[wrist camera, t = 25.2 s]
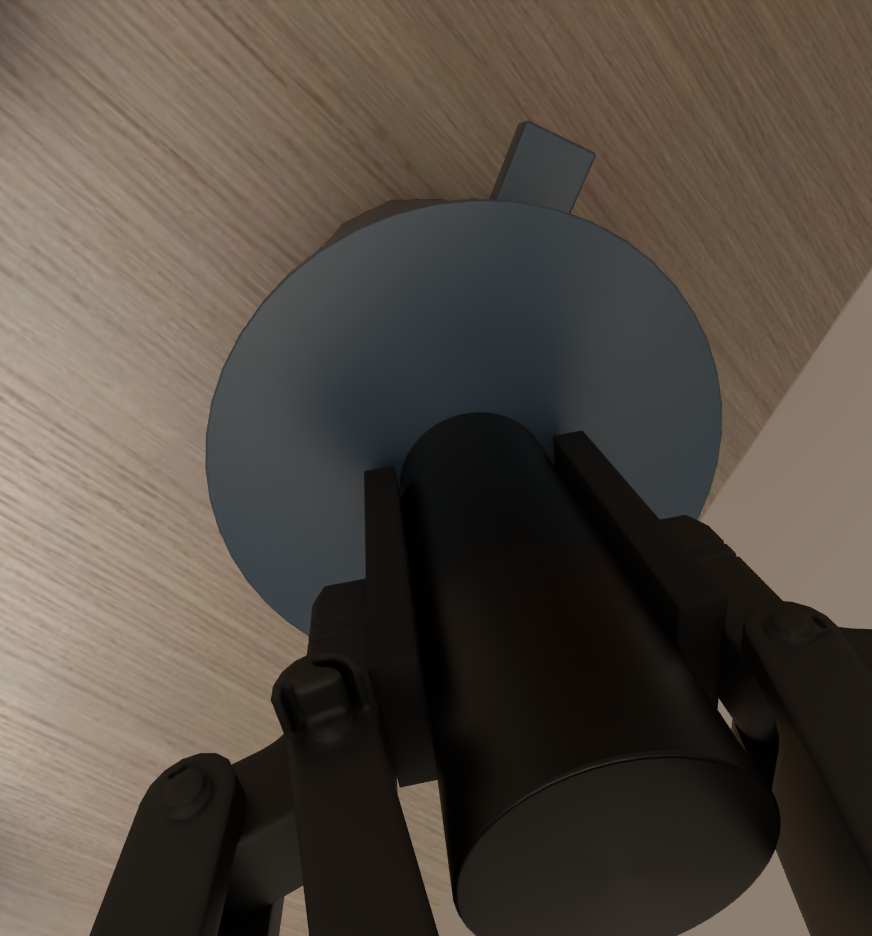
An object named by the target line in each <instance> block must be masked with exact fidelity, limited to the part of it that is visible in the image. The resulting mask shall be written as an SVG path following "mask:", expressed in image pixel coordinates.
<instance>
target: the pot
mask: <svg viewBox="0 0 872 936" xmlns="http://www.w3.org/2000/svg"><path fill="white" fill-rule="evenodd" d="M595 155H596V154H595V153H594V152H592V151H590V150H588V149H586V148H584V147H582V146H580V145H578V144H576V143H573V142H571V141H569V140H567V139H565V138H563V137H561V136H559V135H557V134H555V133H553V132H551V131H549V130H547V129H545V128H543V127H540V126H538V125H536V124H534V123H532V122H530V121H525V122H521V123H519V125H518V127H517V129H516V132H515V134H514V137H513V140H512V142H511V145H510V147H509V150H508V152H507V155H506V158H505V160H504V163H503V165H502V168H501V171H500V173H499V176H498V178H497V181H496V183H495V186H494V189H493V191H492V194H491V196H490V199H495V200H513V201H519V202H524V203H529V204H534V205H539V206H544V207H549V208H554V209H558V210H561V211H563V212H566V213H569V214H570V213H571V211H572V209H573V206H574V204H575V202H576V200H577V197H578V195H579V193H580V190H581V188H582V186H583V184H584V181H585V179H586V177H587V175H588V172H589V170H590V168H591V166H592V163H593V161H594V159H595ZM442 201H447V200H443V199H424V200H421V199H414V200H391V201H388V202H386V203H384V204H382V205H380V206H378V207H376V208H374V209H371V210H369V211H366V212H365V213H363V214H361V215H359V216H357V217H355V218H353V219H351V220H349V221H347V222H345V223H344V224H342V225H341V226H340V228H339V229H338V230H337V231H336V232H335V234H334V235H333V236H332V237H331V238H330V240H329V241H328V242H327V243H326V244H325V245H327V244H328V243H330V242H332V241H333V240H335V239H337V238H339V237H340V236H342V235H344V234H346V233H347V232H349V231H351V230H352V229H354V228H356V227H358V226H361V225H363V224H366V223H368V222H371V221H373V220H375V219H378V218H380V217H383V216H385V215H388V214H390V213H393V212H396V211H400V210H404V209H408V208H412V207H416V206H420V205H425V204H429V203H433V202H442Z"/></svg>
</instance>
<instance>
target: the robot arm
mask: <svg viewBox="0 0 872 936" xmlns="http://www.w3.org/2000/svg"><path fill="white" fill-rule="evenodd" d="M553 446H554V461H555V467H556V469H557V470H558V472H559V473H560V475H561V476H562V478H563V479H564V481H565V482H566V484H567V485H568V487H569V488H570V490H571V491H572V493H573V494H574V496H575V497H576V499H577V500H578V502H579V503H580V505H581V506H582V508H583V509H584V511H585V512H586V514H587V515H588V517H589V518H590V520H591V521H592V523H593V524H594V526H595V527H596V529H597V530H598V532H599V533H600V535H601V536H602V538H603V539H604V541H605V542H606V544H607V545H608V547H609V548H610V550H611V551H612V553H613V554H614V556H615V557H616V559H617V560H618V562H619V563H620V565H621V566H622V568H623V569H624V570H625V572H626V573H627V575H628V576H629V578H630V579H631V581H632V582H633V584H634V585H635V587H636V588H637V590H638V591H639V593H640V594H641V596H642V597H643V599H644V600H645V602H646V603H647V605H648V606H649V608H650V609H651V611H652V612H653V614H654V615H655V617H656V618H657V620H658V621H659V623H660V624H661V626H662V627H663V629H664V630H665V632H666V633H667V635H668V636H669V638H670V639H671V641H672V642H673V644H674V645H675V647H676V648H677V650H678V651H679V653H680V654H681V656H682V657H683V659H684V660H685V662H686V663H687V665H688V666H689V668H690V669H691V671H692V672H693V674H694V675H695V677H696V678H697V680H698V681H699V683H700V684H701V686H702V687H703V689H704V690H705V692H706V693H707V695H708V696H709V698H710V699H711V701H712V702H713V704H714V705H715V707H716V708H717V709H718V698H719V699H720V701H721V702H722V703H723V705H724V706H725V708H726V709H727V711H728V712H729V714H730V715H731V717H732V718H733V720H732V729H731V731H732V732H733V734H734V735H735V737H736V738H737V740H738V741H739V743H740V744H741V746H742V747H743V749H744V750H745V751H746V753H747V754H748V756H749V757H750V759H751V760H752V762H753V763H754V765H755V766H756V768H757V769H758V771H759V772H760V774H761V775H762V777H763V778H764V780H765V781H766V783H767V784H768V786H769V787H770V789H771V790H772V792H773V793H774V796H775V798H776V801H777V803H778V806H779V812H780V819H781V827H780V836H779V839H778V843H777V846H776V852H777V854H778V856H779V859H780V861H781V864H782V866H783V869H784V871H785V874H786V876H787V879H788V881H789V883H790V886H791V888H792V891H793V894H794V896H795V899H796V901H797V903H798V906H799V909H800V911H801V913H802V916H803V918H804V921H805V923H806V926H807V928H808V931H809V933H810V936H872V629H851V628H843V627H838V626H836V624H834V623H833V622H832V621H831V620H830V619H829V618H828V617H827V616H826V615H824V614H822V613H820V612H818V611H817V610H815V609H813V608H811V607H808V606H805V605H801V604H798V603H794V602H787V601H782V600H781V599H780V598H779V597H778V595H776V594H775V593H774V591H773V590H771V588H769V586H768V585H766V584H765V582H764V581H763V580H762V579H761V578H760V577H758V575H757V574H756V573H755V572H754V571H753V570H752V569H751V568H750V567H749V566H748V565H747V564H746V563H745V562H744V561H743V560H742V559H741V558H740V557H736V553H735V552H734V551H733V550H732V549H731V548H730V547H729V546H728V545H727V544H724V541H723V540H722V539H721V538H720V537H719V536H718V535H717V534H716V533H715V532H714V531H713V530H712V529H711V528H710V527H709V526H708V525H706V524H704V523H702V522H700V521H698V520H696V519H694V518H692V517H690V516H688V515H681V516H676V517H671V518H666V519H659V518H658V517H657V516H656V514H655V513H654V512H653V511H652V510H651V509H650V508H649V506H648V505H647V504H646V503H645V502H644V501H643V499H642V498H641V497H640V496H639V495H638V494H637V493H636V491H635V490H634V489H633V488H632V487H631V486H630V484H629V483H628V482H627V481H626V480H625V479H624V478H623V476H622V475H621V474H620V473H619V472H618V471H617V469H616V468H615V467H614V466H613V465H612V464H611V463H610V461H609V460H608V459H607V458H606V457H605V456H604V455H603V453H602V452H601V451H600V450H599V449H598V448H597V446H596V445H595V444H594V443H593V442H592V441H591V440H590V438H589V437H588V436H587V435H586V434H585V433H584V431H583V430H582V431H576V432H571V433H566V434H560V435H555V436H553ZM364 505H365V566H366V578H365V579H360V580H355V581H350V582H344V583H339V584H334V585H329V586H324V588H323V589H322V591H321V592H320V594H319V595H318V597H317V598H316V600H315V602H314V603H313V605H312V614H311V623H310V624H311V627H310V632H309V643H308V651H307V656H305V657H303V658H301V659H299V660H296V661H295V662H293V663H292V664H291V665H290V666H289V667H288V668H286V669H285V670H284V671H283V672H282V673H281V675H280V676H279V678H278V679H277V681H276V682H275V684H274V686H273V690H272V697H271V702H272V704H273V707H274V709H275V712H276V714H277V717H278V719H279V722H280V724H281V727H282V730H283V732H284V734H283V735H282V736H281V737H280V738H279V739H278V740H276V741H275V742H274V743H272V744H271V745H269V746H267V747H266V748H264V749H262V750H261V751H259V752H257V753H255V754H253V755H250V756H248V757H246V758H244V759H242V760H240V761H238V762H236V763H234V764H232V765H231V763H230V761H229V760H228V759H227V758H225V757H223V756H221V755H219V754H217V753H200V754H197V755H194V756H191V757H188V758H184V759H182V760H180V761H179V762H177V763H176V764H174V765H173V766H171V767H170V768H168V769H166V770H165V771H164V772H163V773H162V774H161V775H160V776H159V777H158V778H157V779H156V780H155V781H154V782H153V783H152V784H151V785H150V787H149V789H148V790H147V792H146V794H145V796H144V797H143V799H142V801H141V803H140V805H139V808H138V810H137V813H136V816H135V818H134V821H133V823H132V826H131V829H130V831H129V834H128V836H127V839H126V842H125V844H124V847H123V849H122V852H121V855H120V857H119V860H118V862H117V865H116V868H115V870H114V873H113V875H112V878H111V881H110V883H109V886H108V889H107V891H106V894H105V896H104V899H103V902H102V904H101V907H100V909H99V912H98V915H97V917H96V920H95V922H94V925H93V928H92V930H91V933H90V935H89V936H279V931H280V924H281V916H282V909H283V902H284V896H286V895H287V894H289V893H291V892H292V891H294V890H296V889H298V888H299V887H301V886H304V895H305V903H306V912H307V920H308V929H309V936H439V935H438V931H437V928H436V924H435V921H434V918H433V914H432V911H431V907H430V904H429V900H428V897H427V893H426V890H425V887H424V883H423V880H422V876H421V873H420V869H419V866H418V863H417V859H416V856H415V852H414V849H413V846H412V842H411V839H410V835H409V832H408V828H407V825H406V822H405V818H404V815H403V811H402V808H401V805H400V801H399V798H398V792H397V779H398V783H399V786H400V787H405V786H410V785H414V784H419V783H424V782H429V781H434V780H438V779H437V771H436V763H435V756H434V748H433V740H432V733H431V725H430V717H429V707H428V700H427V692H426V684H425V677H424V669H423V661H422V654H421V646H420V638H419V630H418V623H417V615H416V607H415V600H414V592H413V584H412V577H411V569H410V561H409V554H408V546H407V538H406V530H405V523H404V515H403V507H402V501H401V496H400V491H399V486H398V481H397V476H396V471H395V467H394V466H390V467H385V468H379V469H374V470H369V471H364ZM396 775H397V776H396Z"/></svg>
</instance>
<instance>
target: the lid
mask: <svg viewBox="0 0 872 936" xmlns="http://www.w3.org/2000/svg"><path fill="white" fill-rule="evenodd" d="M582 430H583V431H584V433H585V434H586V435H587V436H588V437H589V438H590V440H591V441H592V442H593V443H594V444H595V445H596V446H597V448H598V449H599V450H600V451H601V452H602V453H603V455H604V456H605V457H606V458H607V459H608V460H609V461H610V463H611V464H612V465H613V466H614V467H615V468H616V469H617V471H618V472H619V473H620V474H621V475H622V476H623V478H624V479H625V480H626V481H627V482H628V483H629V484H630V486H631V487H632V488H633V489H634V490H635V491H636V493H637V494H638V495H639V496H640V497H641V498H642V499H643V501H644V502H645V503H646V504H647V505H648V506H649V508H650V509H651V510H652V511H653V512H654V513H655V514H656V516H657V517H658V518H659V519H666V518H671V517H676V516H681V515H688V516H690V517H692V518H694V519H696V520H698V518H699V516H700V513H701V511H702V509H703V506H704V504H705V501H706V499H707V497H708V494H709V492H710V488H711V485H712V481H713V478H714V474H715V470H716V467H717V463H718V456H719V449H720V442H721V435H722V402H721V394H720V387H719V380H718V373H717V370H716V366H715V363H714V360H713V356H712V353H711V349H710V346H709V343H708V341H707V338H706V336H705V334H704V332H703V330H702V328H701V326H700V324H699V321H698V319H697V317H696V315H695V313H694V312H693V310H692V309H691V307H690V306H689V304H688V303H687V301H686V300H685V298H684V297H683V296H682V294H681V293H680V291H679V290H678V288H677V287H676V286H675V284H674V283H673V282H672V281H671V280H670V279H669V278H668V277H667V276H666V275H665V274H664V273H663V272H662V271H661V270H660V269H659V267H658V266H657V265H656V264H655V263H654V262H653V261H652V260H650V259H649V258H648V257H646V256H645V255H644V254H643V253H641V252H640V251H639V250H637V249H636V248H635V247H633V246H632V245H631V244H630V243H628V242H627V241H626V240H624V239H623V238H621V237H619V236H617V235H615V234H613V233H612V232H610V231H608V230H606V229H604V228H602V227H601V226H599V225H597V224H595V223H593V222H591V221H588V220H586V219H583V218H580V217H577V216H574V215H572V214H569V213H566V212H563V211H561V210H558V209H554V208H549V207H544V206H539V205H534V204H529V203H524V202H519V201H513V200H495V199H474V198H472V199H462V200H452V201H442V202H433V203H429V204H425V205H420V206H416V207H412V208H408V209H404V210H400V211H396V212H393V213H390V214H388V215H385V216H383V217H380V218H378V219H375V220H373V221H371V222H368V223H366V224H363V225H361V226H358V227H356V228H354V229H352V230H351V231H349V232H347V233H346V234H344V235H342V236H340V237H339V238H337V239H335V240H333V241H332V242H330V243H328V244H327V245H325V246H323V247H322V248H320V249H319V250H318V251H316V252H315V253H314V254H313V255H311V256H310V257H309V258H308V259H306V260H305V261H304V262H302V263H301V264H300V265H299V266H297V267H296V268H295V269H294V270H292V271H291V272H290V273H289V274H288V275H287V276H286V277H285V278H284V279H283V280H282V282H281V283H280V284H279V285H278V286H277V287H276V288H275V289H274V290H273V291H272V292H271V293H270V294H269V295H268V296H267V297H266V298H265V299H264V301H263V302H262V303H261V305H260V306H259V308H258V309H257V310H256V312H255V313H254V315H253V316H252V318H251V319H250V320H249V322H248V323H247V325H246V326H245V328H244V329H243V330H242V332H241V333H240V335H239V336H238V338H237V340H236V342H235V344H234V346H233V348H232V350H231V352H230V354H229V356H228V358H227V360H226V362H225V364H224V366H223V368H222V371H221V374H220V377H219V381H218V384H217V387H216V390H215V393H214V396H213V399H212V402H211V408H210V414H209V420H208V426H207V432H206V467H205V468H206V475H207V483H208V490H209V497H210V502H211V505H212V508H213V512H214V515H215V519H216V522H217V525H218V529H219V531H220V533H221V535H222V537H223V540H224V542H225V544H226V546H227V548H228V550H229V553H230V555H231V557H232V558H233V560H234V561H235V563H236V564H237V566H238V568H239V569H240V571H241V572H242V574H243V575H244V577H245V578H246V580H247V581H248V582H249V584H250V585H251V586H252V587H253V588H254V589H255V591H256V592H257V593H258V594H259V595H260V596H261V597H262V599H263V600H264V601H265V602H266V603H267V604H268V605H269V606H270V607H271V608H272V609H274V610H275V611H276V612H277V613H278V614H279V615H280V616H282V617H283V618H284V619H285V620H286V621H287V622H289V623H290V624H291V625H293V626H294V627H296V628H297V629H299V630H300V631H302V632H303V633H305V634H306V635H308V636H309V632H310V627H311V624H310V623H311V614H312V605H313V603H314V602H315V600H316V598H317V597H318V595H319V594H320V592H321V591H322V589H323V588H324V586H329V585H334V584H339V583H344V582H350V581H355V580H360V579H365V578H366V566H365V505H364V471H369V470H374V469H379V468H385V467H390V466H394V467H395V471H396V476H397V481H398V486H399V491H400V496H401V501H402V507H403V515H404V523H405V530H406V538H407V546H408V554H409V561H410V569H411V577H412V584H413V592H414V600H415V607H416V615H417V623H418V630H419V638H420V646H421V654H422V661H423V669H424V677H425V684H426V692H427V700H428V707H429V717H430V725H431V733H432V740H433V748H434V756H435V763H436V771H437V779H438V787H439V794H440V802H441V810H442V817H443V825H444V833H445V841H446V848H447V856H448V864H449V872H450V879H451V887H452V895H453V902H454V904H455V907H456V909H457V912H458V914H459V916H460V918H461V919H462V921H463V922H464V923H465V925H466V927H467V928H468V929H469V930H470V931H472V933H473V934H474V935H476V936H677V935H679V934H681V933H684V932H686V931H688V930H690V929H692V928H694V927H696V926H697V925H699V924H701V923H703V922H704V921H706V920H708V919H710V918H711V917H713V916H714V915H715V914H717V913H719V912H720V911H722V910H723V909H724V908H726V907H727V906H728V905H730V904H731V903H732V902H734V901H735V900H736V899H737V898H738V897H740V896H741V895H742V894H743V893H744V892H745V891H746V890H747V889H748V888H749V887H750V886H751V885H752V884H753V883H754V882H755V880H756V879H757V878H758V877H759V876H760V875H761V873H762V872H763V870H764V869H765V867H766V866H767V864H768V863H769V861H770V859H771V857H772V855H773V853H774V851H775V849H776V846H777V843H778V839H779V836H780V827H781V819H780V812H779V806H778V803H777V801H776V798H775V796H774V793H773V792H772V790H771V789H770V787H769V786H768V784H767V783H766V781H765V780H764V778H763V777H762V775H761V774H760V772H759V771H758V769H757V768H756V766H755V765H754V763H753V762H752V760H751V759H750V757H749V756H748V754H747V753H746V751H745V750H744V749H743V747H742V746H741V744H740V743H739V741H738V740H737V738H736V737H735V735H734V734H733V732H732V731H731V729H730V728H729V726H728V725H727V723H726V722H725V720H724V719H723V717H722V716H721V714H720V713H719V711H718V710H717V708H716V707H715V705H714V704H713V702H712V701H711V699H710V698H709V696H708V695H707V693H706V692H705V690H704V689H703V687H702V686H701V684H700V683H699V681H698V680H697V678H696V677H695V675H694V674H693V672H692V671H691V669H690V668H689V666H688V665H687V663H686V662H685V660H684V659H683V657H682V656H681V654H680V653H679V651H678V650H677V648H676V647H675V645H674V644H673V642H672V641H671V639H670V638H669V636H668V635H667V633H666V632H665V630H664V629H663V627H662V626H661V624H660V623H659V621H658V620H657V618H656V617H655V615H654V614H653V612H652V611H651V609H650V608H649V606H648V605H647V603H646V602H645V600H644V599H643V597H642V596H641V594H640V593H639V591H638V590H637V588H636V587H635V585H634V584H633V582H632V581H631V579H630V578H629V576H628V575H627V573H626V572H625V570H624V569H623V568H622V566H621V565H620V563H619V562H618V560H617V559H616V557H615V556H614V554H613V553H612V551H611V550H610V548H609V547H608V545H607V544H606V542H605V541H604V539H603V538H602V536H601V535H600V533H599V532H598V530H597V529H596V527H595V526H594V524H593V523H592V521H591V520H590V518H589V517H588V515H587V514H586V512H585V511H584V509H583V508H582V506H581V505H580V503H579V502H578V500H577V499H576V497H575V496H574V494H573V493H572V491H571V490H570V488H569V487H568V485H567V484H566V482H565V481H564V479H563V478H562V476H561V475H560V473H559V472H558V470H557V469H556V467H555V461H554V446H553V436H555V435H560V434H566V433H571V432H576V431H582Z"/></svg>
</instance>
